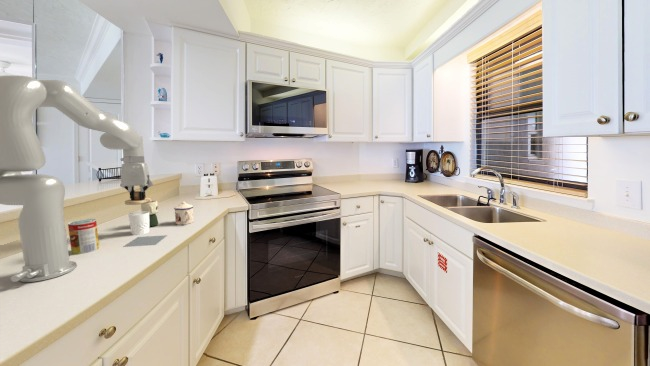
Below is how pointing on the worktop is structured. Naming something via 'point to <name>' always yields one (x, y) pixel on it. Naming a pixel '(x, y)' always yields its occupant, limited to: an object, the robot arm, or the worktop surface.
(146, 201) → the lid
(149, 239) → the mat
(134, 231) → the white cup
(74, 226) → the canned food
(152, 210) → the character mug
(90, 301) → the worktop surface
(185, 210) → the teacup with lid
